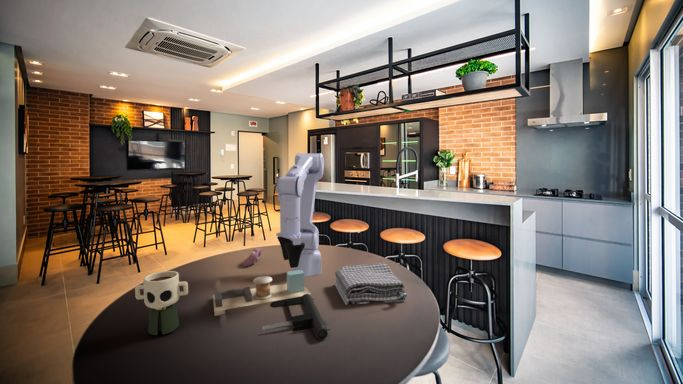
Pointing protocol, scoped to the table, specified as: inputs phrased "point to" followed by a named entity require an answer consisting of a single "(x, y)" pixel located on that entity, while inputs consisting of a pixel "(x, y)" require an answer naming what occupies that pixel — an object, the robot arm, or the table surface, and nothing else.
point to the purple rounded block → (253, 257)
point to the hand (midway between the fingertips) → (290, 263)
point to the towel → (369, 284)
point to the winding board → (252, 295)
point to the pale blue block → (295, 281)
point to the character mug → (162, 300)
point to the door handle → (300, 317)
